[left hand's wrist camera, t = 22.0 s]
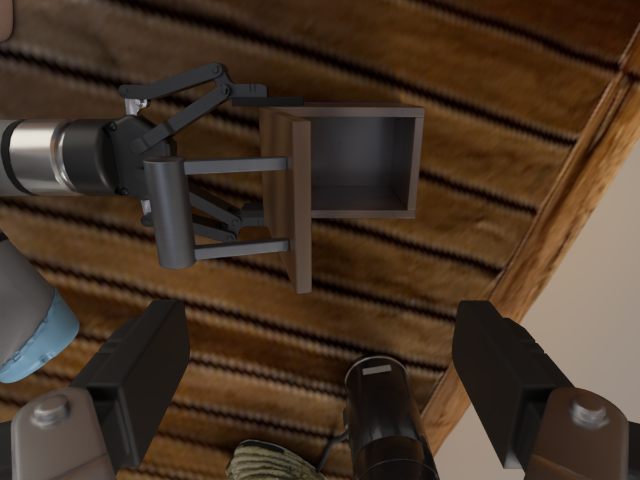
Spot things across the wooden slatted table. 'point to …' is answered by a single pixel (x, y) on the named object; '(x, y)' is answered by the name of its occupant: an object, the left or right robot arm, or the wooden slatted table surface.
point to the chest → (363, 158)
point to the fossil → (268, 463)
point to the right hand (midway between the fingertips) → (304, 158)
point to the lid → (278, 199)
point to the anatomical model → (6, 19)
